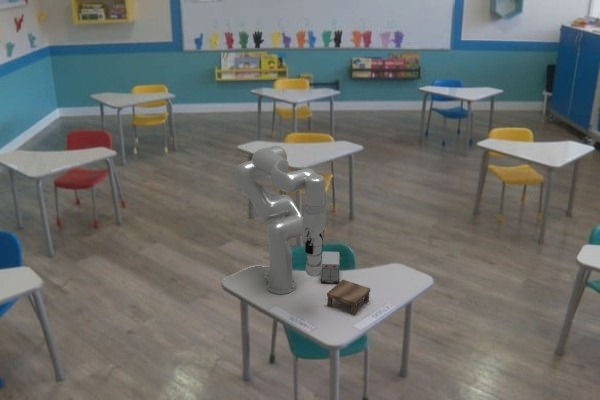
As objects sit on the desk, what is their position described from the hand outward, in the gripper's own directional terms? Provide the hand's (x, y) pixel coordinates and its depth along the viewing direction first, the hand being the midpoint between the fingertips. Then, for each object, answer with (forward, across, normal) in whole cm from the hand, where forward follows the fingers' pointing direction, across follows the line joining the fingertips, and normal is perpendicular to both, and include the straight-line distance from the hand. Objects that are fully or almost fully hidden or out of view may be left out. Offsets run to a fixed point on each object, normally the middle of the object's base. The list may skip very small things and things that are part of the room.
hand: (314, 249), depth 220 cm
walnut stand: (+27, -11, +10) cm, 31 cm away
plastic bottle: (+11, 0, 0) cm, 11 cm away
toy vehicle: (+28, -28, -8) cm, 40 cm away
